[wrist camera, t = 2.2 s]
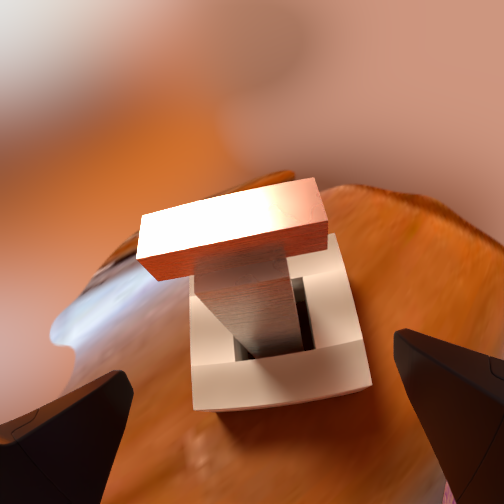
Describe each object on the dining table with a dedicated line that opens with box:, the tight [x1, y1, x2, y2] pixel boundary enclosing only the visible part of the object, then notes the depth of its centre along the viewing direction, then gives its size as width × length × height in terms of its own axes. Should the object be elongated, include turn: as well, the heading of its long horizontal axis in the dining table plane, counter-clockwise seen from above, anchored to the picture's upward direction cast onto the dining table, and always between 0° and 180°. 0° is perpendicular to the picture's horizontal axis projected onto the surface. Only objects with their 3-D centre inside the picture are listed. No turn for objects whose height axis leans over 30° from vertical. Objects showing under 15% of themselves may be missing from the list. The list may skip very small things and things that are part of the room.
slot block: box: [190, 233, 372, 412], centre depth 19 cm, size 10×10×4 cm
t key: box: [136, 177, 328, 359], centre depth 15 cm, size 6×3×14 cm, turn 96°
